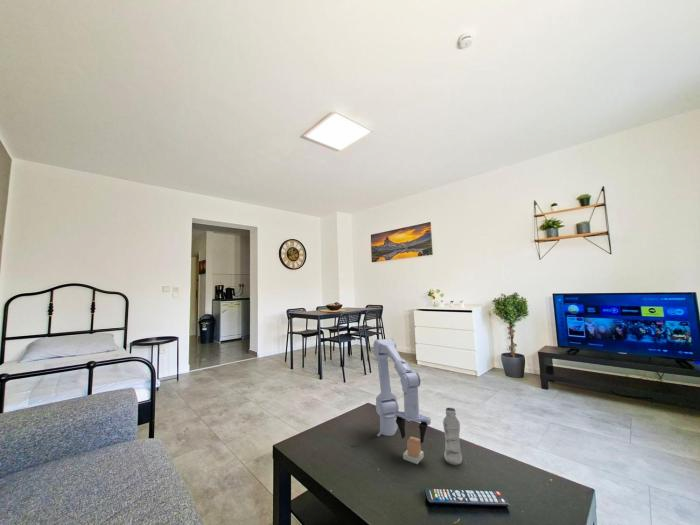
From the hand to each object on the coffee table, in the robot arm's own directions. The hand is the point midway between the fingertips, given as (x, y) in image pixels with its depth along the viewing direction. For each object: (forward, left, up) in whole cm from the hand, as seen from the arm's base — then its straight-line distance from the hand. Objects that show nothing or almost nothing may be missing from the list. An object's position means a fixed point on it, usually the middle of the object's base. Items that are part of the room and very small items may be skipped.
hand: (412, 439), depth 110 cm
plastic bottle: (-6, +14, -8) cm, 17 cm away
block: (0, +1, -5) cm, 5 cm away
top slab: (0, 0, -7) cm, 7 cm away
